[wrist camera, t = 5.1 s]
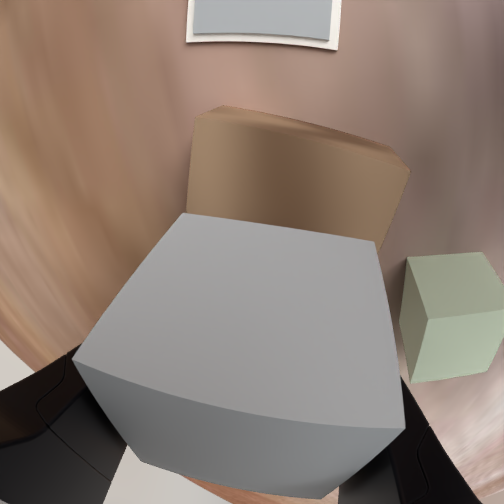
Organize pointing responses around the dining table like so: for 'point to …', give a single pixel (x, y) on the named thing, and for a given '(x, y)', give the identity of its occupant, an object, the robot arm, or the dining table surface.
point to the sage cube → (450, 315)
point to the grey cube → (250, 357)
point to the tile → (265, 21)
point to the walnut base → (292, 175)
